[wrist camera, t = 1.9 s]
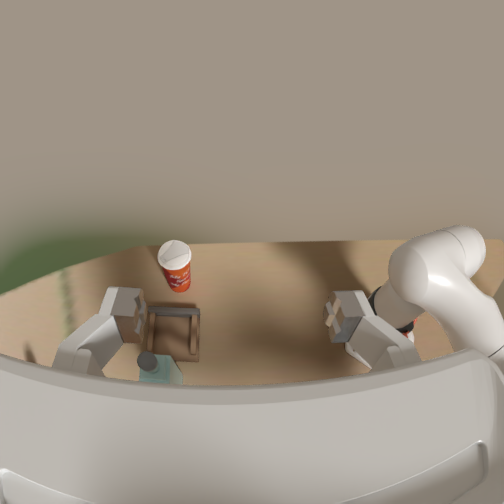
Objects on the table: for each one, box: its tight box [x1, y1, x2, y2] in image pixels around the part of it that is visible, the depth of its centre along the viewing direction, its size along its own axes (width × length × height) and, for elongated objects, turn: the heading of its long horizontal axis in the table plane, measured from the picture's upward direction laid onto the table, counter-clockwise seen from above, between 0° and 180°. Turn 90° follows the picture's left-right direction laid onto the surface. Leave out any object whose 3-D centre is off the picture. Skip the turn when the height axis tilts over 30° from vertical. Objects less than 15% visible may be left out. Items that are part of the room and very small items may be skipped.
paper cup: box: [158, 240, 191, 292], centre depth 67 cm, size 8×8×14 cm
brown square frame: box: [147, 306, 200, 362], centre depth 63 cm, size 12×12×3 cm
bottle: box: [137, 351, 183, 384], centre depth 47 cm, size 5×5×24 cm
